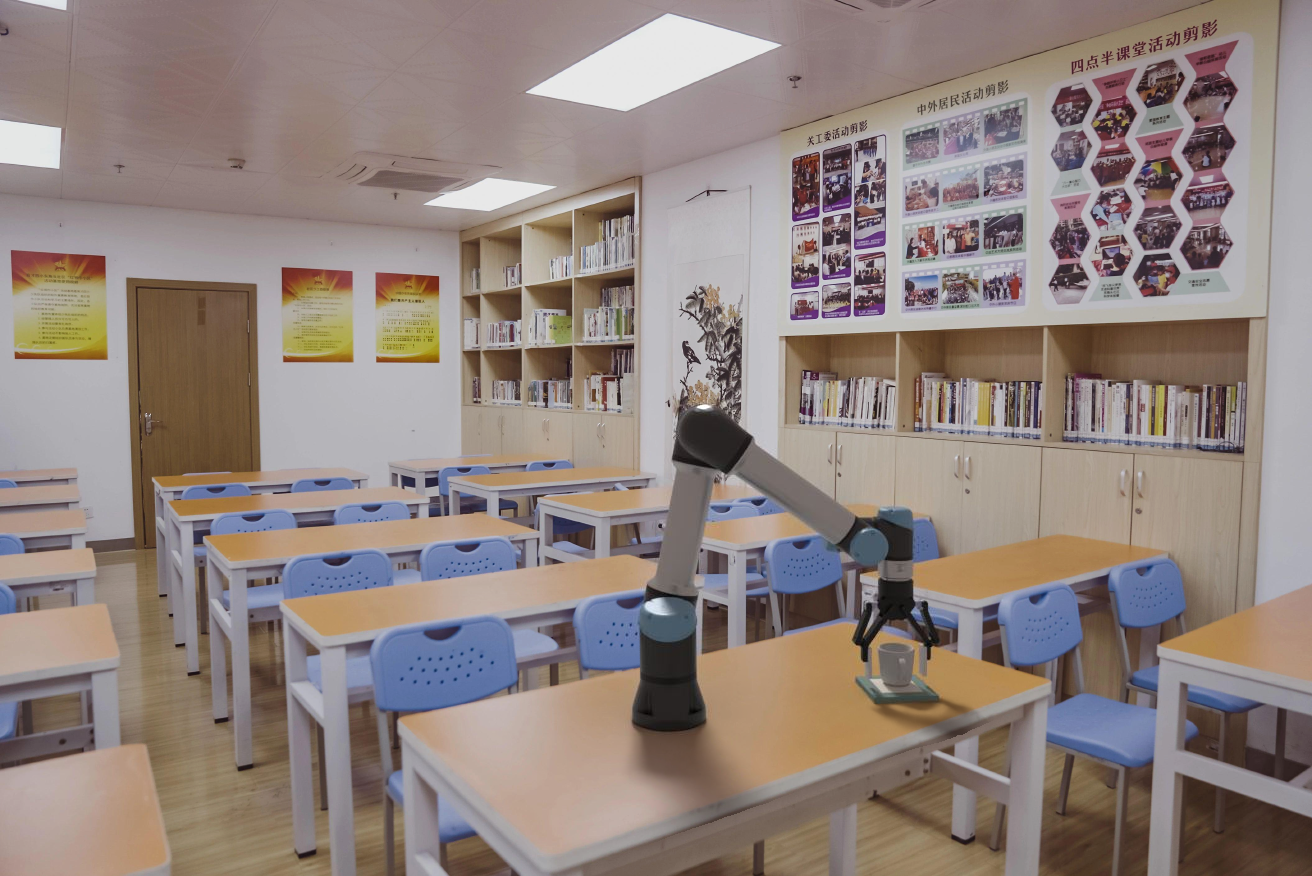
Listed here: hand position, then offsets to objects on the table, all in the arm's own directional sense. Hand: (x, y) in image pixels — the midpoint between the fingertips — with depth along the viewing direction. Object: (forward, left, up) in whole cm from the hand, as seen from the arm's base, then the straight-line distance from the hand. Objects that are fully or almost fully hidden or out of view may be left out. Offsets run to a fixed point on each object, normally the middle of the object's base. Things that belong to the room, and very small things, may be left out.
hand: (895, 675), depth 189 cm
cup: (+1, 0, -2) cm, 2 cm away
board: (0, 0, -3) cm, 3 cm away
